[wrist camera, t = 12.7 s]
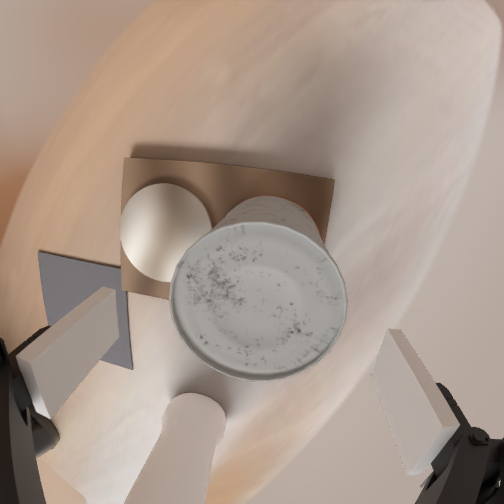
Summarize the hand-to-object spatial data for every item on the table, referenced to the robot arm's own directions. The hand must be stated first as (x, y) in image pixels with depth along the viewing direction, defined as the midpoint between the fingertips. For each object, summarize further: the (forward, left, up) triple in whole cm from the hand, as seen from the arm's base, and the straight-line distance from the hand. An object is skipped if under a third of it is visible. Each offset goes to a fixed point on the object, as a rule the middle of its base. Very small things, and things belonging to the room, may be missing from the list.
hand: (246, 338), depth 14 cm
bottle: (-6, -24, -17) cm, 30 cm away
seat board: (-5, 0, -17) cm, 17 cm away
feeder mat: (-22, -12, -17) cm, 30 cm away
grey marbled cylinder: (0, 0, -15) cm, 15 cm away
